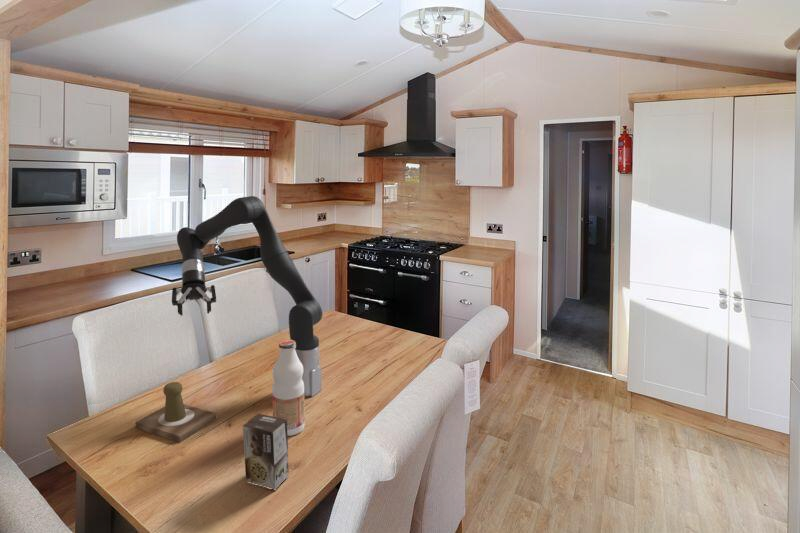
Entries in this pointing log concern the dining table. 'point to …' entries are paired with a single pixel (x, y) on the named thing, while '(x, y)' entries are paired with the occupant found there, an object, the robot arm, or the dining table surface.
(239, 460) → the dining table surface
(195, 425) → the walnut board
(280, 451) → the coffee box
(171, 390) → the cork
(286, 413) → the fruit juice
